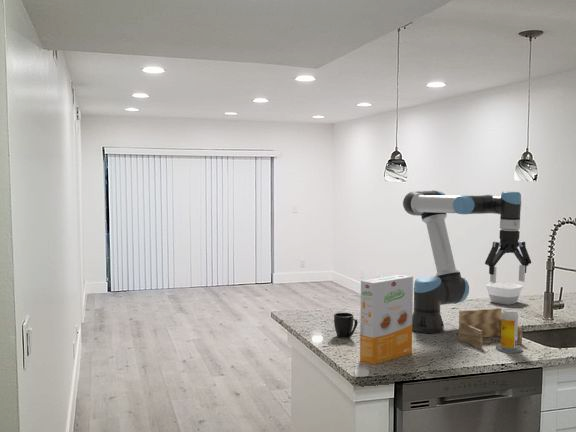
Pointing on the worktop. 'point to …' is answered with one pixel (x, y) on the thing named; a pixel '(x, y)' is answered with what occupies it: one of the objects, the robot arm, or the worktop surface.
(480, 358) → the worktop surface
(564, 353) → the worktop surface
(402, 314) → the cereal box
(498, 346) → the coaster
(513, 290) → the bowl
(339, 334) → the mug
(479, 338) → the shelf bay
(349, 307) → the worktop surface
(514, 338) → the beer can
